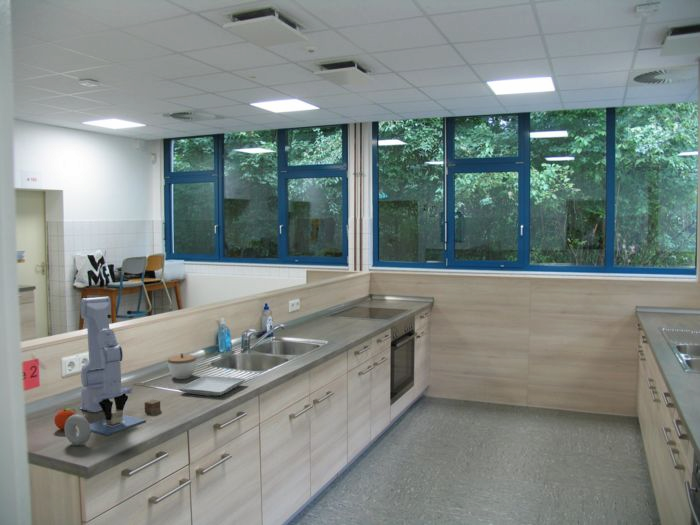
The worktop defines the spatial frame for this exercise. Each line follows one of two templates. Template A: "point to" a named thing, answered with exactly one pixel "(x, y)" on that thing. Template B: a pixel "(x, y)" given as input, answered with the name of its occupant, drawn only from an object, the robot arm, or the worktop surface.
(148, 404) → the walnut block
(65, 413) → the clementine
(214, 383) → the salad plate
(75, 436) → the donut
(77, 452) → the worktop surface
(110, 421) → the maple block
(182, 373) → the lidded bowl
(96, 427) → the board
